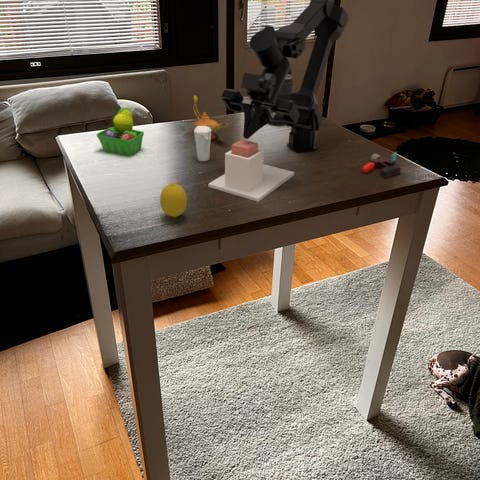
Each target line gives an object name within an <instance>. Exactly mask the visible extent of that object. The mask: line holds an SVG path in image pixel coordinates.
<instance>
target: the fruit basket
mask: <svg viewBox="0 0 480 480" xmlns="http://www.w3.org/2000/svg"><path fill="white" fill-rule="evenodd" d="M129 109H130V108H128V107H121V108H120V109H119V110H118V112H117V114H116V115H115V116H114V118H113V120H112V122H113V125H114V126H112V127H108V128H106V129H103V130H102V131H100V132H97V134H95V135H96V138H97V139H98V140H99V143H100V145H101V147H102V149H103V151H104V152H108V153H113V154H119V155H126V156H129V157H131V156H133V155H134V154H136V153H137V152H139V151H141V149H142V145H143V144H142V143H143V139H144V135H145V132H144V131H142V130H135V129H133V128H134V120H133V114H132V112H131V110H129Z"/></svg>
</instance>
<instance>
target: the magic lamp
mask: <svg viewBox="0 0 480 480" xmlns="http://www.w3.org/2000/svg"><path fill="white" fill-rule="evenodd" d="M198 99H199V98H198V96H197V95H194V96H193V102H194V105H193V113H194V114H195V115H196V118H197V119H198V120H197V121H195V123H194V125H195V126H194V127H195V128H196V127H197V126H207V127H209V128H210V129H212V130H211V140H213V139H215V138H216V136H215V135H214V134H213V132H218V131H219V130H220V129H222V128H223V127H225V126H228V123H219V122H218V121H216V120H214V119H210V117H209V115H207V112H206V111H203V113H202V114H200V112H199V110H198V107H197V102H198V101H199V100H198ZM200 117H201V118H200ZM213 125H214V126H213ZM212 127H213V128H212Z"/></svg>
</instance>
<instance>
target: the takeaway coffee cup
mask: <svg viewBox="0 0 480 480" xmlns="http://www.w3.org/2000/svg"><path fill="white" fill-rule="evenodd" d="M213 126H214V125H213ZM212 128H213V127H212ZM211 130H212V129H210V128H209V127H207V126H197V127H196V126H195V128H194V130H193V132H194V140H195V147H196V157H197V161H200V162H208V161H210V157H211V156H210V153H211V140H212V139H211V134H212V132H211Z"/></svg>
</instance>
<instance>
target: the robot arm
mask: <svg viewBox="0 0 480 480" xmlns="http://www.w3.org/2000/svg"><path fill="white" fill-rule="evenodd" d="M348 21H349V14H348V13H347V11H346V10H345V8H343V7H341V6H339V5H337V4H335V2H333V1H332V0H310V2H309V4H308V6H307V7H306V8H305V9H304V10H303V11H302V12H301V13H300V14H299V15H298V16H297V18H295V20H293V22H292V23H290V24H287V25H284V26H280V27H279V28H278V29H276V30H275V28H274V27H275V26H272V25H264V28H263V29H261V30H259V31H257V32H256V33H254V35H252V36H251V38H250V41H249V47H250V49H251V50H252V52H253V54H254V56H255V58H256V61H257V62H258V63H259V65H260V66H261V67H262V70H261V71H260V74H256V73H251V72H243V74H242V78H241V82H240V88H241V89H245V90H246V91H245V92H246V93H245V94H246V95H247V96H243V95H242V93H241V91H240V90H238V89H231V88H226V89H223V90H222V91H221V92H222V93H221V95H220V97H219V98H220V99H221V101H222V102H223V103H224V105H225V106H226V108H227V109H228V110H229V111H231V112H236V113H241V112H243V116H244V117H243V118H244V119H243V133H242V134H243V135H242V137H243V138H244V140H248V139H249V138H251V137H252V136H253V135H254V134H255V133H257V132H258V131H259V130H261V129H262V128H263V127H265V126H266V125H268V124H269V122H273V121H274V119H273V117H274V115H275V114H276V113H279V114H284V116H283V118H284V120H285V122H286V127H289V128H290V132H289V134H288V143H286V146H287V147H289V148H290V149H291V150H293V151H294V152H295V153H304V152H310V151H316V150H317V147H316V146H315V137H316V136H315V135H316V132H319V131H320V129H321V127H322V126H321V125H322V122H323V120H322V118H321V116H320V115H321V114H320V113H319V108H320V105H319V102H318V97H317V94H318V92H319V87H320V84H321V82H322V79H323V76H324V74H325V73H324V72H325V69H326V65H327V64H328V63H327V62H328V59H329V57H330V54H331V50H332V47H333V45H334V44H335V42H337V41H338V40H339V39H340V38H341V37H342V35H343V33H344V30H345V28H346V27H347V26H348V25H347V24H348ZM313 31H314V34H315V40H314V42H313V47H312V49H311V53H310V56H309V59H308V62H307V66H306V69H305V72H304V75H303V78H302V81H301V84H300V88H299V89H298V91H296V92H292V94H291V96H290V100H286V99H278V100H277V102H276V104H275V100H276V98H277V96H278V95H281V94H282V90H281V87H282V85H283V82H284V80H285V78H286V75H287V74H288V75H291V76H292V73H293V69H292V67H291V62H290V61H289V60H288V59H298V58H300V56H301V55H302V54H303V53H304V51H305V49H306V46H307V45H306V40H307V39H308V37H309V36H310V35H311V34H312V33H313Z"/></svg>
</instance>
